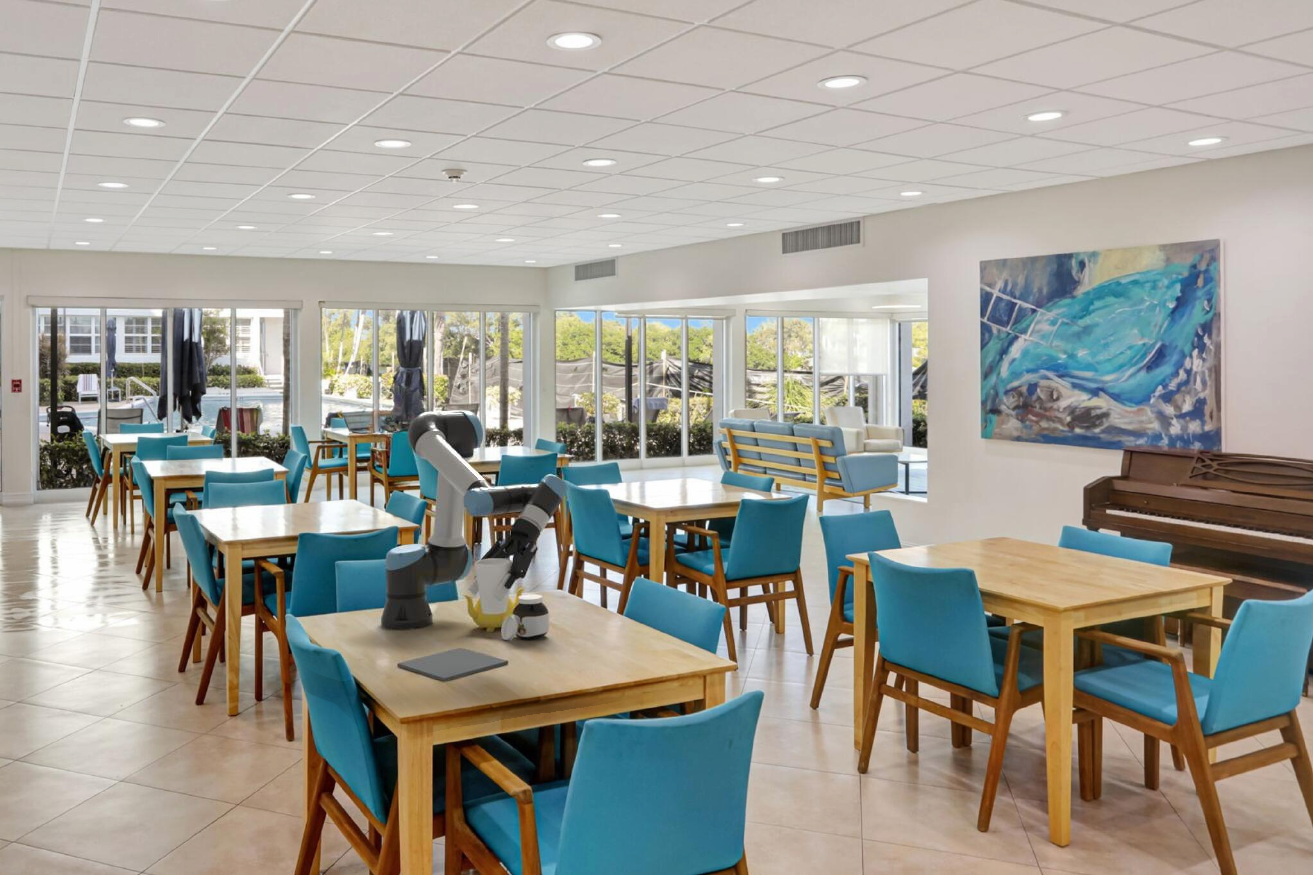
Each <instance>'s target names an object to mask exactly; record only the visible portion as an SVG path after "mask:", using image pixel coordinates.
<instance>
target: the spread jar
mask: <svg viewBox="0 0 1313 875" xmlns="http://www.w3.org/2000/svg"><path fill="white" fill-rule="evenodd" d="M518 602H519V604H518V605H517V606H516V607H515V608H514V610H513V614H512V616H507V617H506V618H505V620H504V622H503V624H502V627H500V628H501V630H500V633H501V634H500V636H501V637H502V639H503V640H504V641H511V640H513V639H514V637H517V638H518V639H519V640H522V641H536V640H540V639H543V638H544V637H545V636H546V635H547V634H548V632H549V630H550V613H549V610H548V608H547V606H546V605H545V603H544V602H543V595H541V594H533V593H532V594H523V595H522V594H521V596H519V597H518Z"/></svg>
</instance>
